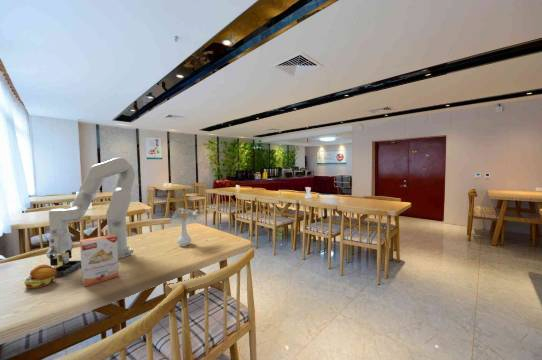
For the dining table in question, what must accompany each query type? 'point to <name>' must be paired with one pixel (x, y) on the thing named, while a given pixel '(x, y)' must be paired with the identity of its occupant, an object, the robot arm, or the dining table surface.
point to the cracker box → (99, 259)
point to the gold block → (62, 259)
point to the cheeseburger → (40, 276)
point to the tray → (67, 268)
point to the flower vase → (184, 225)
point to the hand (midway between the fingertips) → (61, 261)
